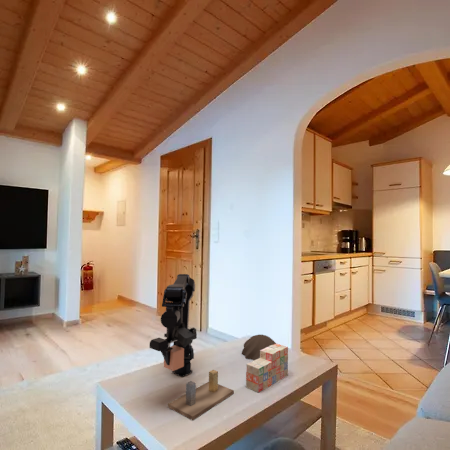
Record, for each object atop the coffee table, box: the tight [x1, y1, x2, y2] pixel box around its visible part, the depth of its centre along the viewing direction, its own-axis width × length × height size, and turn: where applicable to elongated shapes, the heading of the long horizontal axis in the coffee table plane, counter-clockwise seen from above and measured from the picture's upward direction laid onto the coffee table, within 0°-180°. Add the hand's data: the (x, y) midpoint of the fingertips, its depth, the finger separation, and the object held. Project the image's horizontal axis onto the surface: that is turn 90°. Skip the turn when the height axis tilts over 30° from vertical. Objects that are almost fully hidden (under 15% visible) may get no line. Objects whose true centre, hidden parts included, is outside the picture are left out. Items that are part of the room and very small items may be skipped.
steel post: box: [185, 380, 197, 406], centre depth 108 cm, size 2×2×8 cm
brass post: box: [208, 369, 219, 393], centre depth 117 cm, size 2×2×8 cm
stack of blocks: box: [245, 343, 289, 393], centre depth 128 cm, size 21×6×12 cm, turn 137°
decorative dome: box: [241, 334, 277, 361], centre depth 156 cm, size 19×20×10 cm
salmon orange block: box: [163, 345, 184, 372], centre depth 115 cm, size 5×5×7 cm
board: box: [167, 381, 235, 421], centre depth 112 cm, size 12×22×1 cm, turn 141°
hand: (173, 362), depth 115 cm, fingers closed on salmon orange block, 5 cm apart
